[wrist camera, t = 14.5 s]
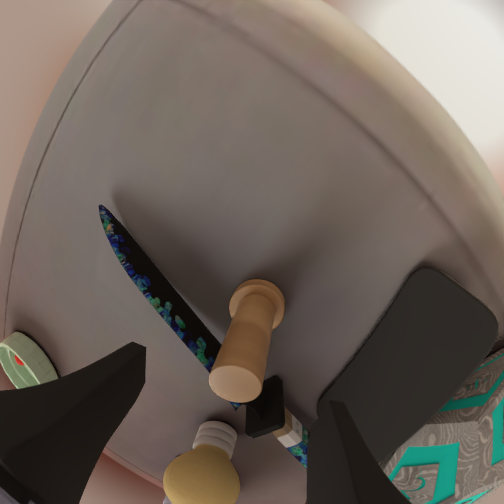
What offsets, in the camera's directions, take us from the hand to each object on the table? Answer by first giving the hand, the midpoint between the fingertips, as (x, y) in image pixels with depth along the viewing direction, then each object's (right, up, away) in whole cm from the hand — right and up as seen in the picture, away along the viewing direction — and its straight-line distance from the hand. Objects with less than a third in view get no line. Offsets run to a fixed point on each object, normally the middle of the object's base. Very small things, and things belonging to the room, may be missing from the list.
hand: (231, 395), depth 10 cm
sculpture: (+29, -1, +6) cm, 30 cm away
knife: (0, -3, +11) cm, 11 cm away
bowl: (-27, -9, +17) cm, 33 cm away
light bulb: (-2, -12, +14) cm, 19 cm away
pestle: (+1, +2, +9) cm, 10 cm away
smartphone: (+8, -10, +9) cm, 15 cm away
